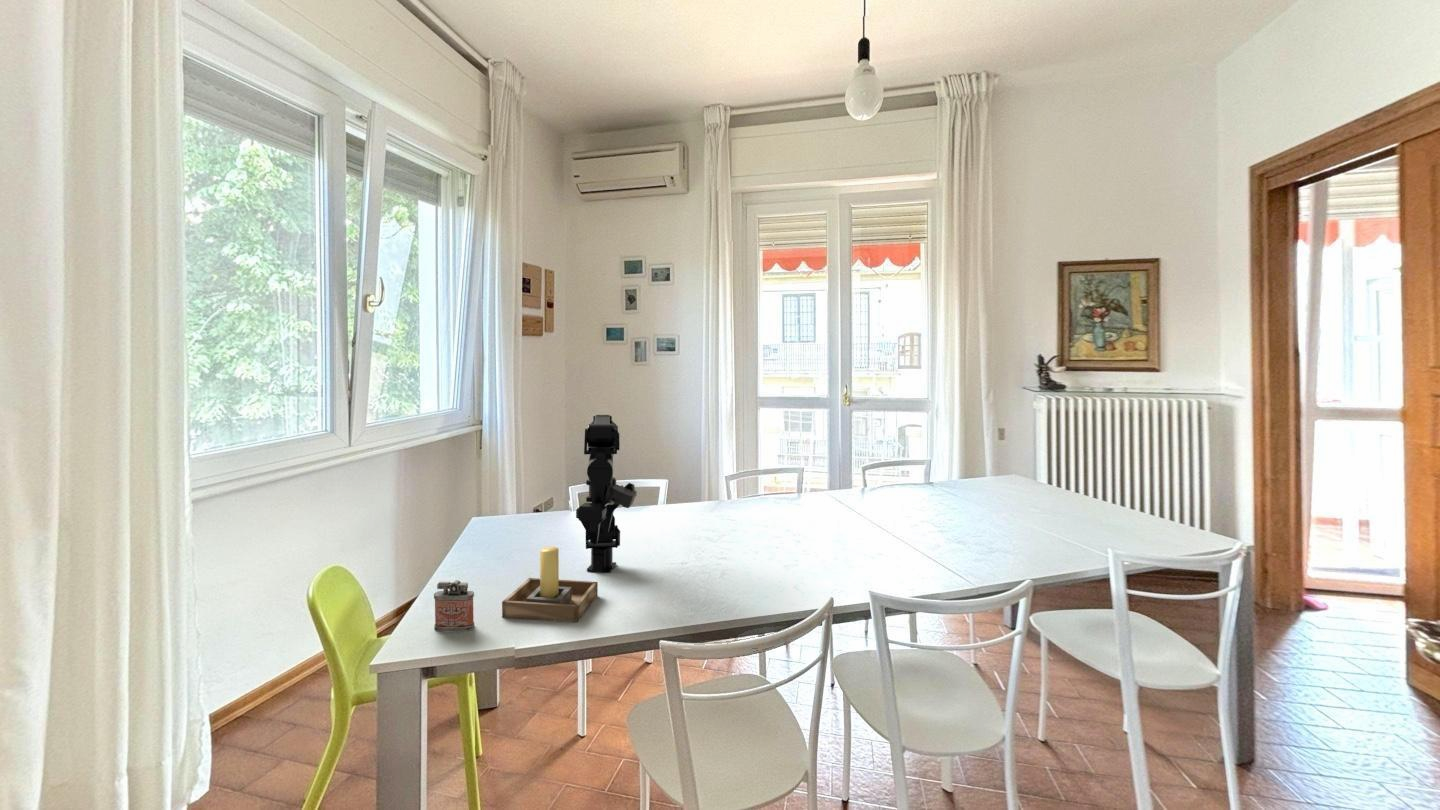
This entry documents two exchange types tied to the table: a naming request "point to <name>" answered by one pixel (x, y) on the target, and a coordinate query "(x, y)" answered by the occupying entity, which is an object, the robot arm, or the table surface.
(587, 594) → the walled box
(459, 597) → the lighter
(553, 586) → the plug
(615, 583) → the table surface
